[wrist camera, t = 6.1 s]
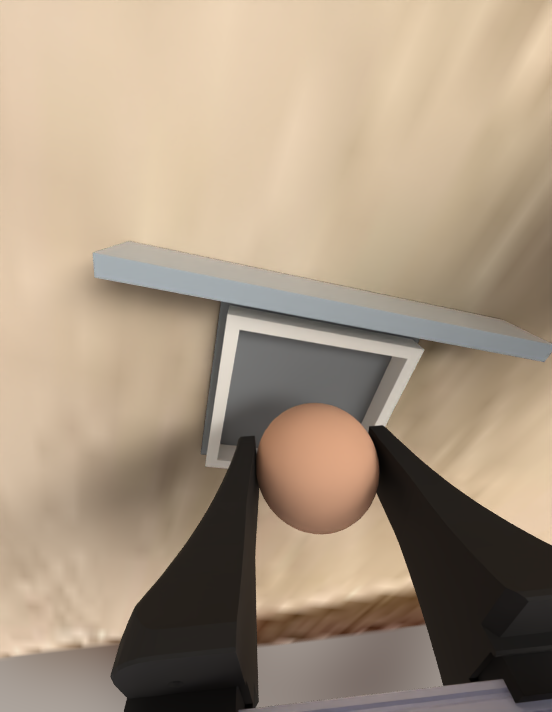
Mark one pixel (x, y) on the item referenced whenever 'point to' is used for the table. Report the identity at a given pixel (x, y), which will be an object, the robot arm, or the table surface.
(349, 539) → the table surface
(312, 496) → the ball
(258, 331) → the white square tray
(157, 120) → the table surface
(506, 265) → the table surface
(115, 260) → the low wall
